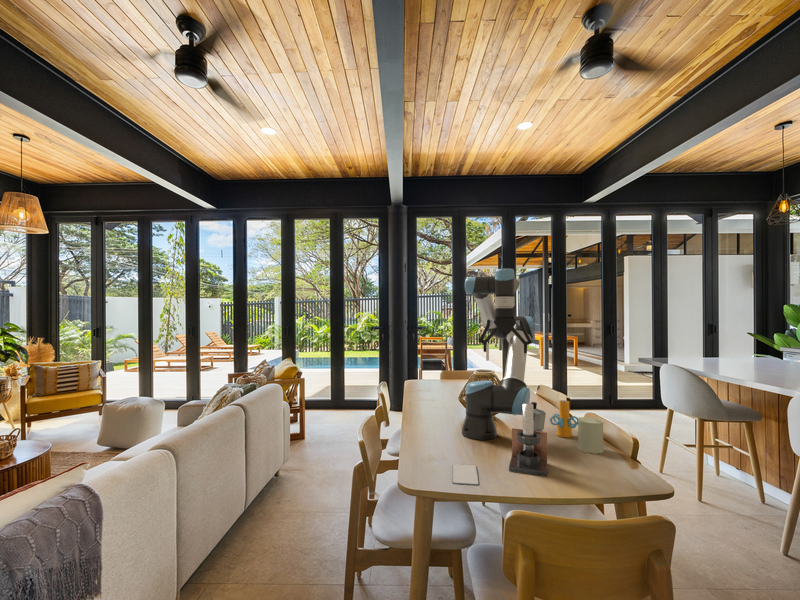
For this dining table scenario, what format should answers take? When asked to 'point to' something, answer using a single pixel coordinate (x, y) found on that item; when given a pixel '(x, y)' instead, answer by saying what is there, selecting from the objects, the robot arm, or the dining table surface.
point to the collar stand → (529, 464)
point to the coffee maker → (538, 418)
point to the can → (590, 435)
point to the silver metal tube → (528, 428)
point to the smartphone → (464, 474)
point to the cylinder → (564, 420)
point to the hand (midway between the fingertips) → (505, 361)
